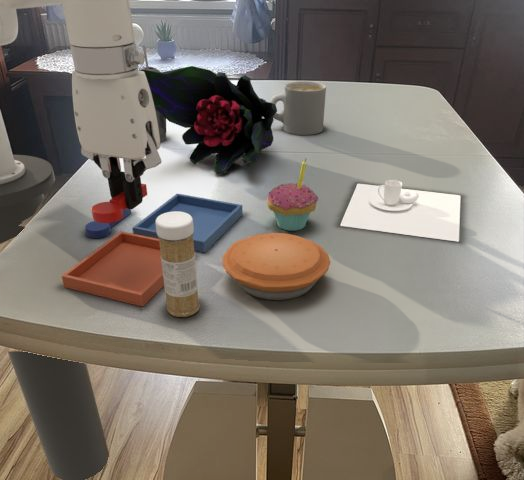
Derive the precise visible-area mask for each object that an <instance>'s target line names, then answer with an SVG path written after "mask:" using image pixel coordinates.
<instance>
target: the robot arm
mask: <svg viewBox="0 0 524 480" xmlns="http://www.w3.org/2000/svg"><path fill="white" fill-rule="evenodd" d="M130 1H131V0H0V47H1V46H7V45H9V44H12V43H13V42H14V41H15V40H16V39H17V38H18V33H19V20H18V19H19V18H18V14H17V10H21V9H22V10H23V9H31V8H32V9H33V8H40V7H41V8H42V7H52V6H62V10H63V16H64V21H65V26H66V33H67V37H68V42H69V46H70V47H69V48H70V51H71V58H72V62H73V66H74V70H73V71H71V93H72V105H73V114H74V115H73V116H74V121H75V127H76V132H77V137H78V140H79V144H80V147H81V148H80V153H81V155H82V156H83V157H85V158H87V159H88V160H90V161H92V162H93V163H95V165H97V167H98V168H99V169H100V170H101V173H102V176H103V177H104V178H105V179H107V182H108V188H109V194H110V197H111V199H112V198H114V197H115V196H117V195H119V194H120V193H122V192H123V191H124V195H125V198H126V205H127V208H128V209H131V211H132V210H134V209H135V208H136V207H138V206H140V204H142V203H143V200H144V197H143V193H142V185H141V184H142V178H141V177H142V176H143V175H144V173H145V172H146V171H147V170H150V169H153V168H156V167H157V166H159V165H161V164H162V158H161V156H160V153H159V151H158V150H160V148H161V142H160V136H159V129H158V122H157V117H156V112H155V107H154V102H153V98H152V94H151V90H150V87H149V84H148V81H147V78H146V75H145V72H144V71H138V70H139V66H140V65H141V66H142V65H144V64H145V57H144V52H142V51H138V50H137V45H136V42H135V34H134V26H133V25H134V24H133V16H132V9H131V8H132V7H131V2H130ZM9 139H10V138H9V136H8V132H7V128H6V124H5V121H4V118H3V114H2V111H1V109H0V185H1V184H5V183H9V182H11V181H14V180H16V179H18V178H20V177H21V176H22V175H24V173H25V167H24V164H23V163H21V162H20V161H17V160H14V157H13V155H14V154H13V151H12V147H11V142H10V140H9ZM120 159H122V162H123V170H124V171H122V166H121V160H120Z"/></svg>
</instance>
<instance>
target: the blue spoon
mask: <svg viewBox="0 0 524 480" xmlns="http://www.w3.org/2000/svg"><path fill="white" fill-rule="evenodd" d="M131 214H132V210H131V209H128V208H127V209H126V210H124V211H123V218H122V219H121V220H119V221H116V222H113V223H99V222H96V221H94V220H92V221H90V222H88V223H86V224H85V226H84V228H85V233H86V236H87V237H88V238H90V239H102V238H106V237H108V236H109V235H110V234H111V232H112V228H113V227H114V226H116V225H117V224H119V223H120V222H121V221H123V220H124V219H126V218H127V217H129V216H130V215H131Z"/></svg>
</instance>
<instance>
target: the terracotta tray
mask: <svg viewBox="0 0 524 480" xmlns="http://www.w3.org/2000/svg"><path fill="white" fill-rule="evenodd" d="M61 280H62V285H63V287H64V288H66V289H70V290H74V291H78V292H82V293H86V294H90V295H95V296H98V297H102V298H107V299H109V300H114V301H119V302H123V303H128V304H130V305H134V306H138V307H144V306H146V304H147V303H148V302H150V300H151V299H153V297H154V296H155V295H157V294H158V292H160V291H161V290H162V289H163V288H164V279H163V271H162V263H161V252H160V243H159V239H156V238H151V237H146V236H142V235H137V234H133V232H127V231H123V230H120V231H119V232H118V233H116V234H115V235H114V236H112V237H111V238H110V239H108V240H107V241H106V242H104V243H103V244H102V245H100V246H99V247H97V248H96V249H95V250H94V251H92V252H91V253H90V254H88V255H87V256H86V257H84V258H83V259H82V260H81V261H79V262H78V263H76V264H75V265H73V267H71V268H69V269H68V270H67V271H66V272H64V273H63V274H62V275H61Z"/></svg>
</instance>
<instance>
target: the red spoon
mask: <svg viewBox="0 0 524 480" xmlns="http://www.w3.org/2000/svg"><path fill="white" fill-rule="evenodd" d="M141 185H142V193H143V198H145V197H146V196H148V187H147V184H146V183H141ZM90 209H91V217H92V219H93V221H96V222H99V223H113V222H116V221H119V220H121V219H122V218H123V211H124V210H126V209H127V205H126V198H125V195H124V191H123V192H122V193H120V194H119V195H117V196H115V197H114V198H111V199H109V201H102V202H98V203H96V204H94V205H92V207H91V208H90ZM122 220H123V219H122ZM122 220H121V221H122Z"/></svg>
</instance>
